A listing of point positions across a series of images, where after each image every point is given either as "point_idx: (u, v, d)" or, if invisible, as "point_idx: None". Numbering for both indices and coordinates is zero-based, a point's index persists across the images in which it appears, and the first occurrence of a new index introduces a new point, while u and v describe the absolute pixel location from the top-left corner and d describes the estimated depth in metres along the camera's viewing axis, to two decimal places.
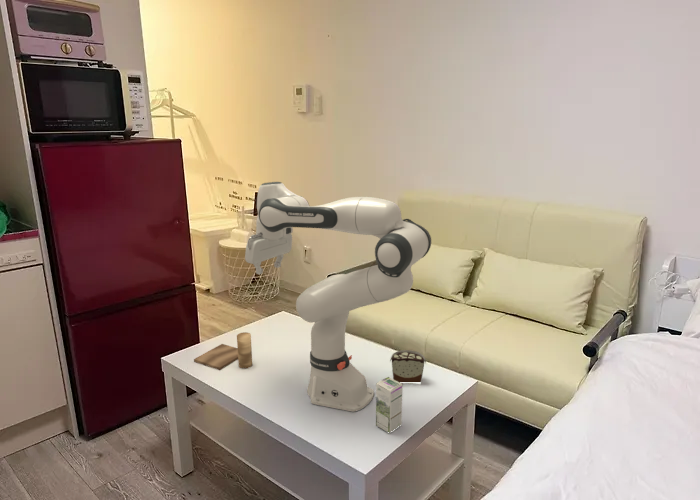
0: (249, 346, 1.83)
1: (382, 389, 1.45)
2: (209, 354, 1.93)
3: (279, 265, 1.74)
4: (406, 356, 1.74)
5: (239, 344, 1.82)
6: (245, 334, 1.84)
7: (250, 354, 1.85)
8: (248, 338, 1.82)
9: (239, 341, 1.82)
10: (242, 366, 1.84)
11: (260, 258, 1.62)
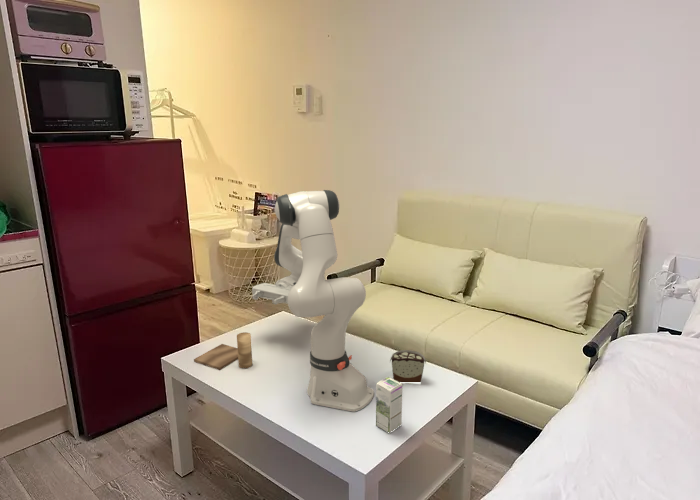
0: (249, 346, 1.83)
1: (382, 389, 1.45)
2: (209, 354, 1.93)
3: (274, 299, 1.89)
4: (406, 356, 1.74)
5: (239, 344, 1.82)
6: (245, 334, 1.84)
7: (250, 354, 1.85)
8: (248, 338, 1.82)
9: (239, 341, 1.82)
10: (242, 366, 1.84)
11: (260, 287, 1.99)
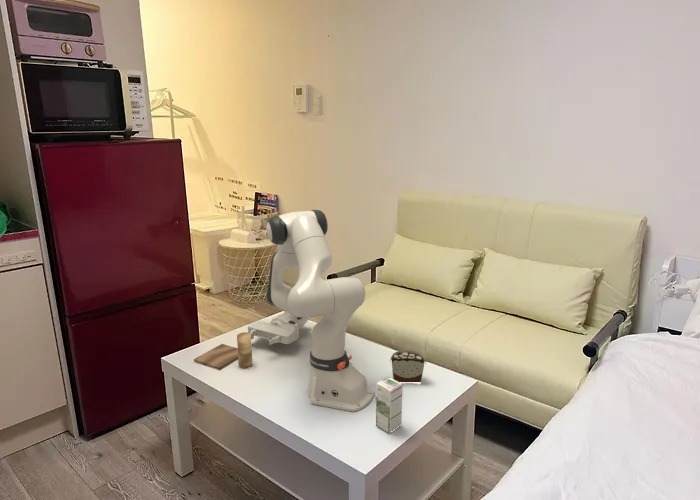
0: (249, 346, 1.83)
1: (382, 389, 1.45)
2: (209, 354, 1.93)
3: (269, 339, 1.90)
4: (406, 356, 1.74)
5: (239, 344, 1.82)
6: (245, 334, 1.84)
7: (250, 354, 1.85)
8: (248, 338, 1.82)
9: (239, 341, 1.82)
10: (242, 366, 1.84)
11: (255, 326, 1.99)
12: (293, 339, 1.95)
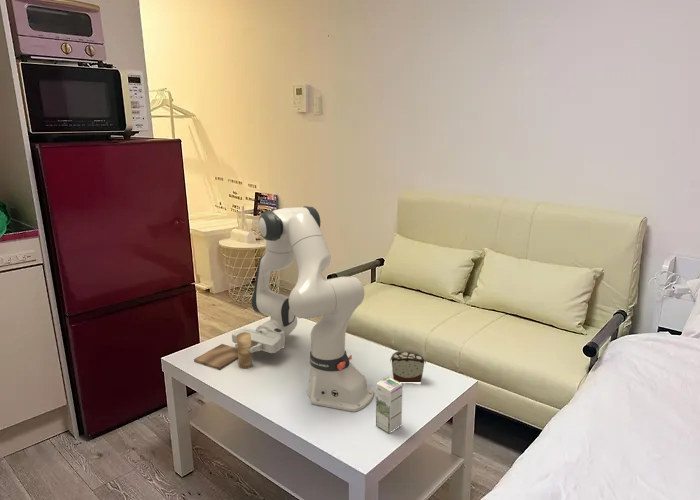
0: (249, 346, 1.83)
1: (382, 389, 1.45)
2: (209, 354, 1.93)
3: (251, 347, 1.83)
4: (406, 356, 1.74)
5: (239, 344, 1.82)
6: (245, 334, 1.84)
7: (250, 354, 1.85)
8: (248, 338, 1.82)
9: (239, 341, 1.82)
10: (242, 366, 1.84)
11: None
12: (279, 348, 1.87)
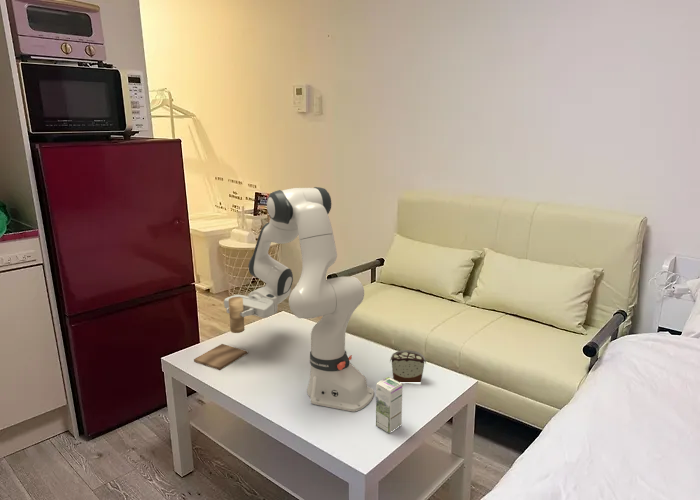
0: (241, 310, 1.81)
1: (382, 389, 1.45)
2: (209, 354, 1.93)
3: (242, 311, 1.81)
4: (406, 356, 1.74)
5: (231, 308, 1.80)
6: (237, 298, 1.82)
7: (242, 319, 1.83)
8: (240, 302, 1.80)
9: (231, 305, 1.80)
10: (234, 331, 1.82)
11: None
12: (271, 313, 1.85)
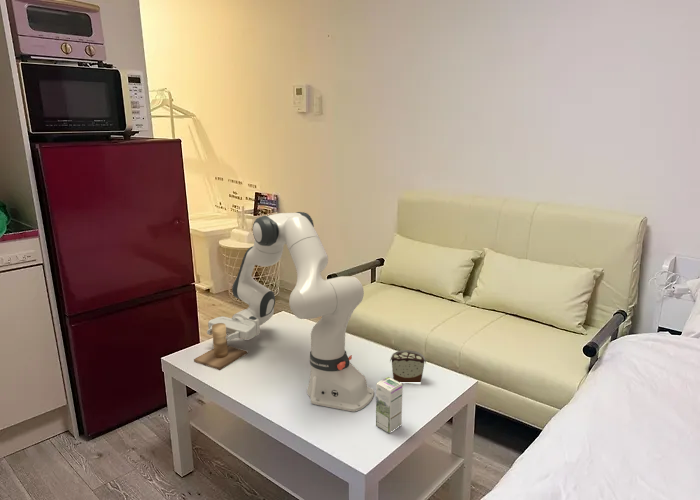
0: (224, 336, 1.89)
1: (382, 389, 1.45)
2: (209, 354, 1.93)
3: (228, 335, 1.87)
4: (406, 356, 1.74)
5: (214, 334, 1.88)
6: (220, 325, 1.90)
7: (225, 344, 1.90)
8: (223, 328, 1.88)
9: (214, 331, 1.87)
10: (217, 356, 1.90)
11: (215, 322, 1.97)
12: (253, 335, 1.92)
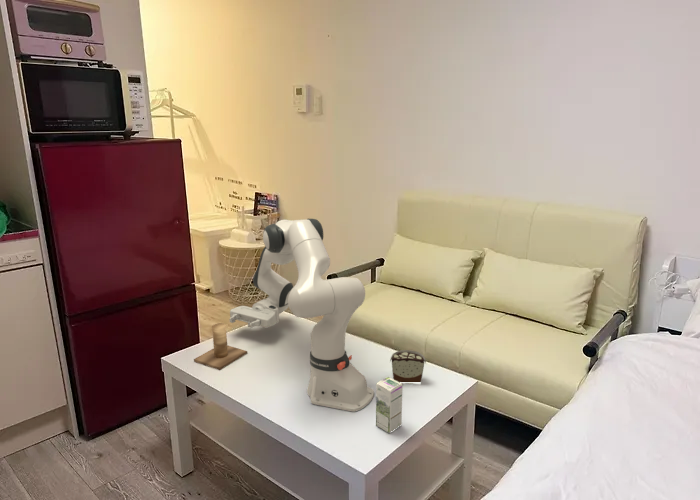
0: (224, 336, 1.89)
1: (382, 389, 1.45)
2: (209, 354, 1.93)
3: (250, 322, 1.98)
4: (406, 356, 1.74)
5: (214, 334, 1.88)
6: (220, 325, 1.90)
7: (225, 344, 1.90)
8: (223, 329, 1.88)
9: (214, 331, 1.87)
10: (217, 356, 1.90)
11: (237, 310, 2.07)
12: (273, 323, 2.03)
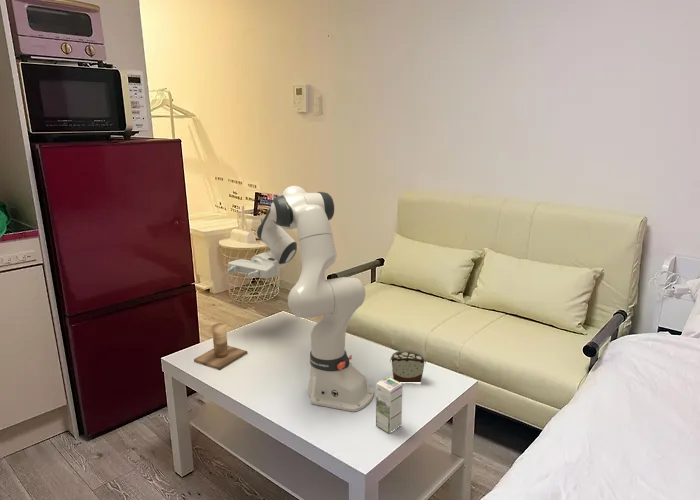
0: (224, 336, 1.89)
1: (382, 389, 1.45)
2: (209, 354, 1.93)
3: (248, 273, 1.93)
4: (406, 356, 1.74)
5: (214, 334, 1.88)
6: (220, 325, 1.90)
7: (225, 344, 1.90)
8: (223, 328, 1.88)
9: (214, 331, 1.87)
10: (217, 356, 1.90)
11: (235, 263, 2.02)
12: (272, 274, 1.98)
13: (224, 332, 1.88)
